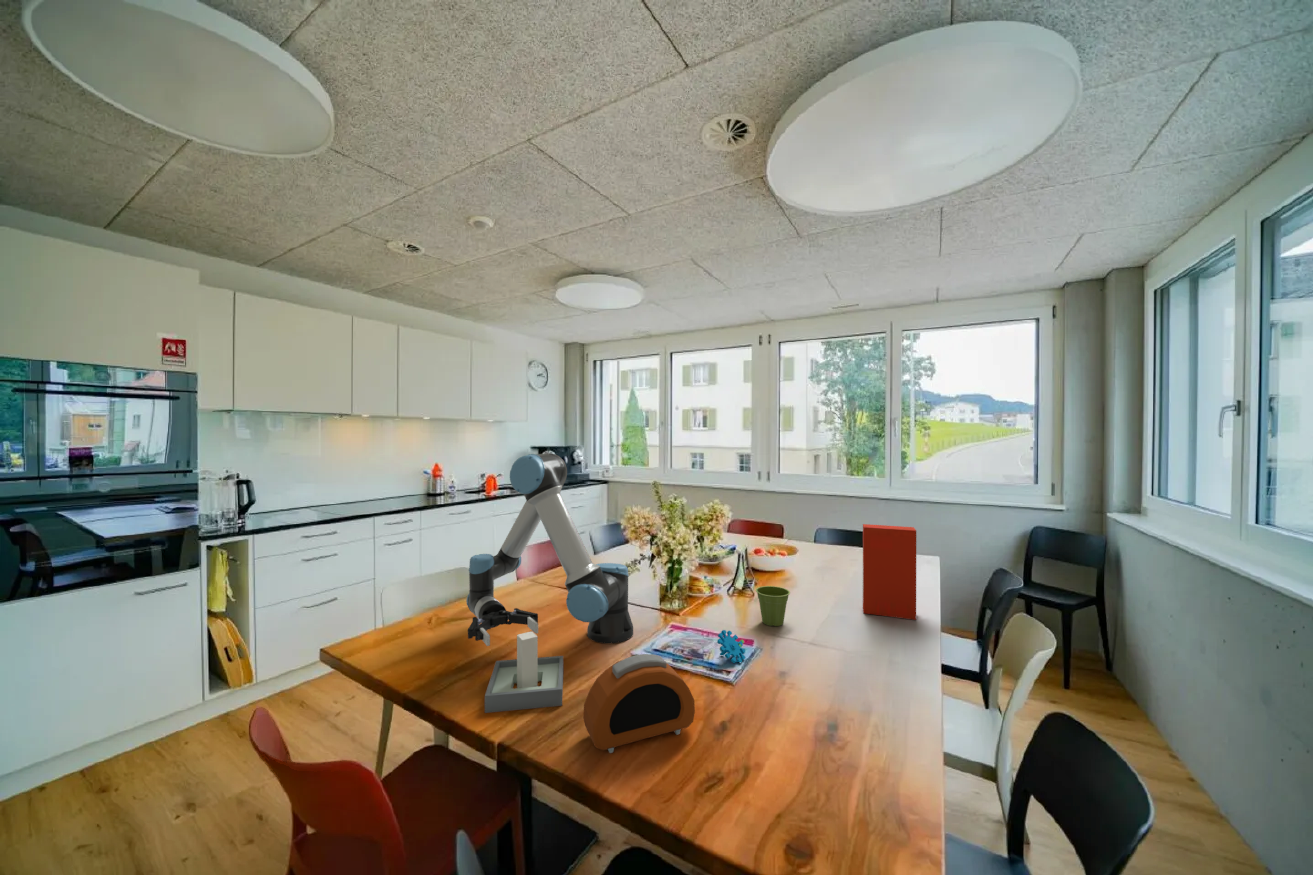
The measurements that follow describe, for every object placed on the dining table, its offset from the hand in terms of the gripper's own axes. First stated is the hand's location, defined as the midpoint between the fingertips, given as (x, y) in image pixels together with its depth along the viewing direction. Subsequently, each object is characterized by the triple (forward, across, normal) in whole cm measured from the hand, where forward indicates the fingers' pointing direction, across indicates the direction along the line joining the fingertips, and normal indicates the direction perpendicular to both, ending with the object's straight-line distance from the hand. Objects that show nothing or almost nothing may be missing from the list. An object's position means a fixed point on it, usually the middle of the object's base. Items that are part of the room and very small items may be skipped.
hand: (513, 634), depth 133 cm
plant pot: (+17, -86, -12) cm, 89 cm away
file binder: (+36, -128, -12) cm, 134 cm away
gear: (+29, -56, -12) cm, 64 cm away
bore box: (+11, 0, -11) cm, 15 cm away
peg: (+10, 0, -11) cm, 15 cm away
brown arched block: (+42, -14, -11) cm, 46 cm away
